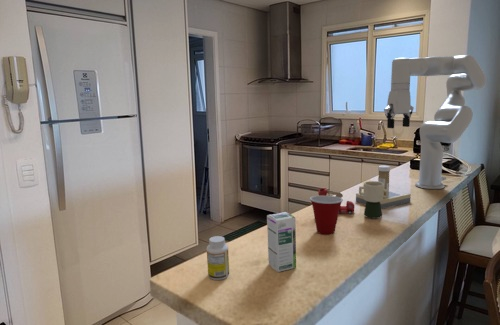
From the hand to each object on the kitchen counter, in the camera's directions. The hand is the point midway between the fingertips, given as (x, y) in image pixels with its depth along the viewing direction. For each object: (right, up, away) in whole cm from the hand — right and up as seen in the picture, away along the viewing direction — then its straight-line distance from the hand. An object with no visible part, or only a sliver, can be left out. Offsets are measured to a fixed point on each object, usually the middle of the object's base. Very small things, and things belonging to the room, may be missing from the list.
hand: (398, 127), depth 156 cm
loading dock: (-9, -32, -6) cm, 34 cm away
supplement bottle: (-74, -45, -64) cm, 107 cm away
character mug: (-19, -36, -24) cm, 47 cm away
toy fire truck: (-32, -35, -18) cm, 51 cm away
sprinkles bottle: (-9, -30, -6) cm, 32 cm away
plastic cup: (-40, -39, -36) cm, 67 cm away
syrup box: (-57, -44, -59) cm, 93 cm away
